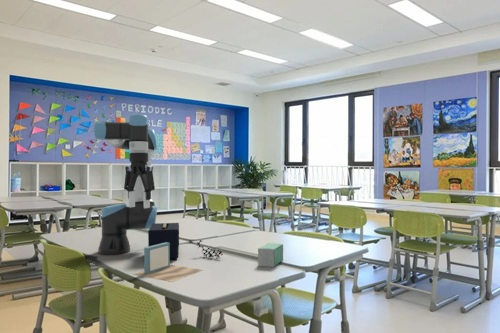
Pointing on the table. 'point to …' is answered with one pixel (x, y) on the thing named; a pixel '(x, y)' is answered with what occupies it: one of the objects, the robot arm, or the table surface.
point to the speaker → (165, 236)
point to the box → (270, 254)
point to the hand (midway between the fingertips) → (139, 207)
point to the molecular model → (210, 251)
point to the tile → (156, 257)
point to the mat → (170, 273)
